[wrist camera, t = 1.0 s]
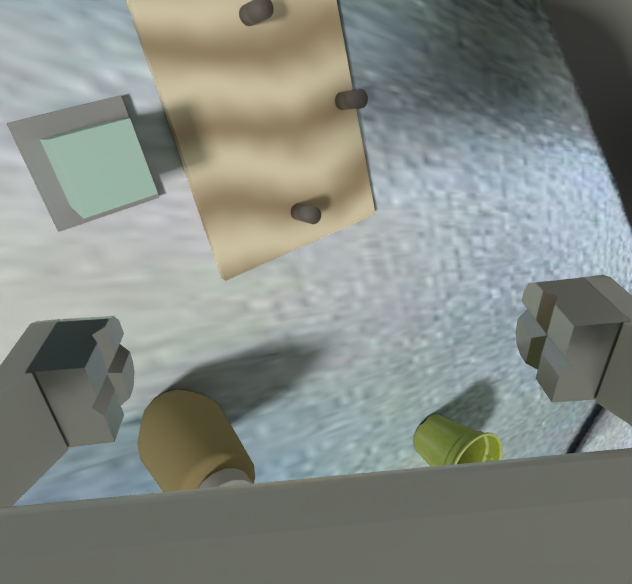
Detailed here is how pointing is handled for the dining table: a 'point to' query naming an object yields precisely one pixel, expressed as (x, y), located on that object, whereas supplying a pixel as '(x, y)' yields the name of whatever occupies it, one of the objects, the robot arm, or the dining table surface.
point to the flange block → (85, 161)
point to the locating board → (259, 120)
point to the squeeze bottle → (191, 444)
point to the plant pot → (454, 443)
